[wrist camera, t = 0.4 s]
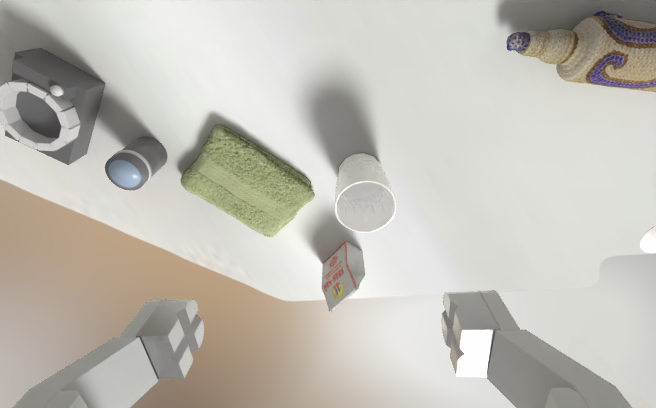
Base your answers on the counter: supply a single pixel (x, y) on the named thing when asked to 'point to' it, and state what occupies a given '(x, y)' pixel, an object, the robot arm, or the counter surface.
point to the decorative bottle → (596, 51)
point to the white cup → (363, 194)
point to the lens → (136, 163)
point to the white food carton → (342, 274)
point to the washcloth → (247, 182)
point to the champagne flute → (649, 241)
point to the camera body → (50, 105)
